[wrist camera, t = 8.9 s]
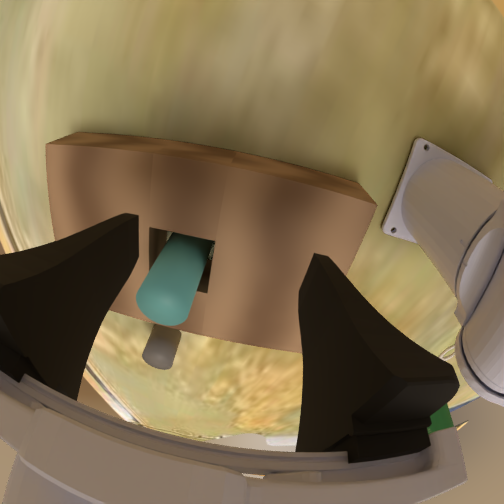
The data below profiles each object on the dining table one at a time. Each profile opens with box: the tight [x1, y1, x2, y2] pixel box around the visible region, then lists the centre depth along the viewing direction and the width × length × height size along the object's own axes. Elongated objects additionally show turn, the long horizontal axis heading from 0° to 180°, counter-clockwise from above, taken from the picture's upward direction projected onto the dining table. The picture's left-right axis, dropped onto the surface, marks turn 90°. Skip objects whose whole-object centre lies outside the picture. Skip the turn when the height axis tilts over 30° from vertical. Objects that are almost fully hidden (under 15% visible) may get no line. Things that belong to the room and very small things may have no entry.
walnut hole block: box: [46, 132, 377, 353], centre depth 20 cm, size 22×14×4 cm, turn 78°
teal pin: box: [136, 232, 214, 326], centre depth 18 cm, size 3×3×8 cm
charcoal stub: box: [142, 324, 181, 370], centre depth 26 cm, size 3×3×4 cm
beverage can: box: [427, 403, 454, 434], centre depth 32 cm, size 8×8×12 cm
